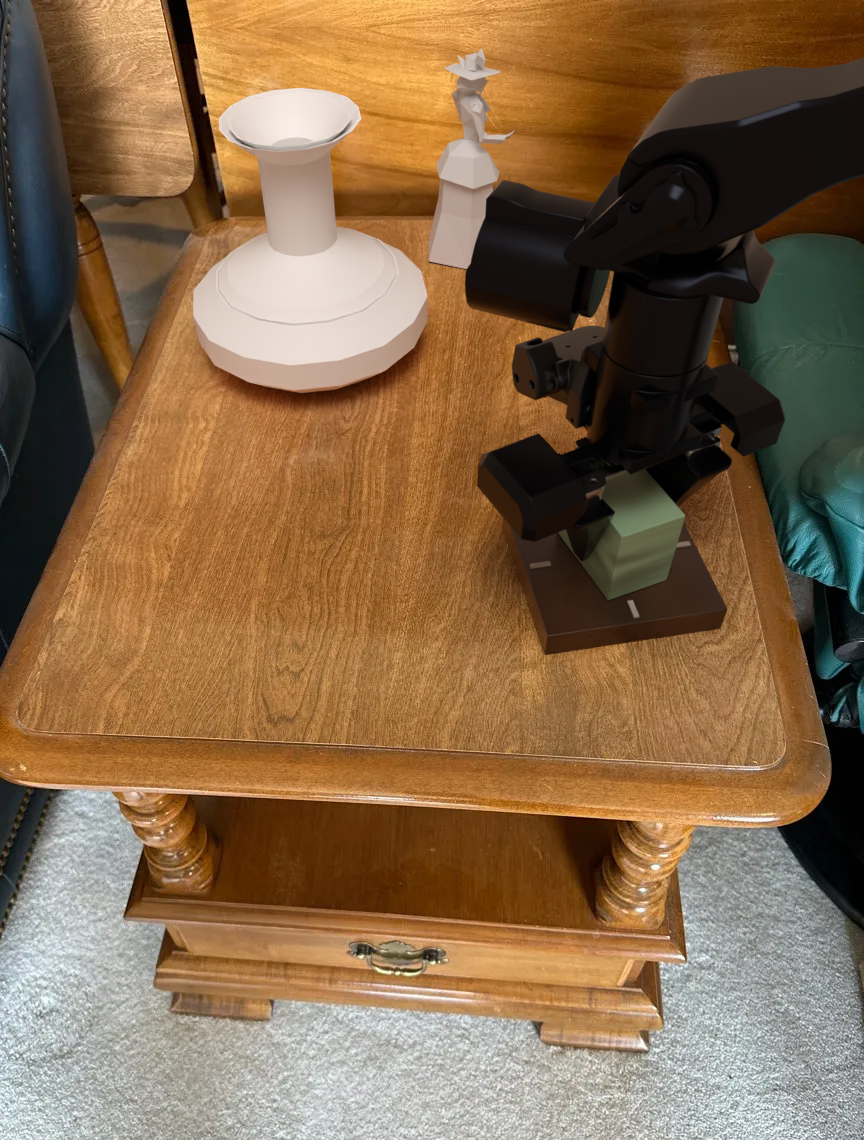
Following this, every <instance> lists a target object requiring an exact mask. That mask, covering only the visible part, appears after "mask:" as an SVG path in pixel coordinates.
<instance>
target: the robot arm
mask: <svg viewBox="0 0 864 1140" xmlns="http://www.w3.org/2000/svg"><path fill="white" fill-rule="evenodd" d="M862 177H864V57H862V58H859V59H856V60H853V61H849V62H847V63H841V64H834V65H828V66H821V67H813V68H812V67H796V66H795V67H793V66H778V65H777V66H775V65H773V66H772V65H771V66H764V67H758V68H753V69H752V68H751V69H745V70H740V71H734V72H727V73H723V74H722V73H721V74H716V75H710V76H706V77H700V78H697V79H694V80H693V81H691V82H689V83H687V84H685V85H683V86H682V87H680V88H678V89H677V90H676V91H675V92H674V93H673V94H671V95H670V96H669V97H668V99H667V100H666V102H665V103H664V104H663V105H662V106H661V108H660V109H659V111H658V112H657V113H656V115H655V116H654V118H653V119H652V120H651V122H650V123H649V125H648V126H647V127H646V129H645V130H644V132H643V133H642V135H640V138H639V139H638V140H637V142H636V143H635V144H634V146H633V147H632V149H631V150H630V152H629V153H628V155H627V157H626V159H625V161H624V163H623V164H622V167H621V168H620V171H619V174H614V176H613V177H612V178H611V180H610V181H609V182H608V184H607V185H606V187H605V188H604V190H603V191H602V192H601V193H600V195H599V196H598V197H597V200H595V202H594V201H589V200H583V199H579V198H575V197H570V196H564V195H561V194H555V193H550V192H545V191H541V190H537V189H534V188H532V187H530V186H528V185H527V184H523V183H520V182H516V181H510V180H505V179H503V180H502V181H501V180H500V182H499V183H498V184H497V185H496V187H495V188H493V191H492V193H491V194H490V195H489V196H488V197H487V199H486V212H485V219H484V221H483V223H482V225H481V228H480V230H479V233H478V236H477V239H476V242H475V246H474V250H473V254H472V258H471V264H470V265H469V266H468V268H467V269H465V277H464V294H465V300H466V303H467V305H468V307H469V308H471V309H472V310H475V311H478V312H482V313H483V312H484V313H487V314H492V315H494V316H499V317H504V318H507V319H511V320H515V321H519V322H522V323H527V324H531V325H535V326H539V327H542V328H547V329H551V330H553V331H558V332H563V333H560V334H558V335H554V336H552V337H549V338H546V339H543V338H541V337H538V336H537V337H535V338H532V339H529V340H525V341H522V342H520V343H517V344H515V346H514V351H513V358H512V363H511V374H512V382H513V383H512V384H513V387H514V388H515V390H516V392H518V393H519V394H520V395H523V396H524V397H527V398H529V399H531V400H533V401H538V400H540V399H543V398H551V399H553V400H555V401H557V402H558V403H559V402H560V403H562V404H564V405H566V411H565V420H567V422H569V423H570V425H571V426H573V427H574V429H576V430H578V429H580V428H583V429H585V431H586V436H585V437H582V438H580V439H577V440H575V441H574V445H573V446H574V449H571V450H569V451H567V452H565V453H562V454H561V452H557V450H555V449H554V448H553V447H552V445H551V444H550V443H549V442H548V441H547V440H546V439H545V438H544V437H543V436H542V434H540V433H536V434H533V435H529V436H527V437H524V438H522V439H519V440H517V441H513V442H511V443H508V444H506V445H503V446H500V447H497V448H495V449H492V450H490V451H487V452H484V453H481V455H480V458H479V462H478V465H477V478H476V487H477V488H478V489H479V491H480V492H481V493H482V494H483V495H484V496H485V498H486V499H487V500H488V501H489V502H490V504H491V505H492V506H493V507H494V509H495V510H496V511H497V512H498V514H499V515H500V516H501V518H502V519H503V518H504V519H505V520H506V522H507V523H508V524H509V525H510V526H511V528H512V529H513V530H514V531H515V533H516V534H517V535H518V536H519V537H520V539H522V540H527V541H532V542H536V541H538V540H541V539H543V538H546V537H548V536H550V535H553V534H555V533H558V532H560V531H563V530H565V529H566V531H567V534H568V537H569V541H570V544H571V547H572V550H573V552H574V553H575V555H576V556H577V557H578V558H579V559H580V560H581V561H584V560H587V558H588V557H589V556H590V555H591V553H592V552H593V551H594V549H595V547H596V545H597V544H598V542H599V540H600V538H601V537H602V535H603V533H604V531H605V530H606V528H607V527H608V525H609V523H610V521H611V520H612V518H613V516H614V514H615V511H614V510H613V509H612V508H611V507H610V506H609V505H608V504H607V503H606V502H605V501H604V500H603V499H602V494H603V490H604V489H605V486H606V480H609V479H611V478H614V477H616V476H619V475H621V474H624V473H626V472H628V473H629V474H630V475H631V474H634V473H636V472H639V471H641V470H644V469H646V471H647V472H648V473H649V474H650V475H651V476H652V477H653V479H654V480H655V481H656V482H657V483H658V484H659V486H660V487H661V488H662V489H663V490H664V491H665V492H666V494H667V495H668V496H669V497H670V498H671V499H672V500H673V502H674V503H675V504H676V505H677V506H678V507H679V508H680V506H682V505H683V504H684V503H686V501H688V500H689V499H690V498H691V497H693V496H694V495H695V494H696V493H697V492H699V491H700V490H701V489H702V488H703V487H705V486H706V485H708V483H710V482H711V481H712V480H714V479H715V478H716V477H717V476H719V475H720V474H721V473H724V472H726V471H728V470H729V469H730V468H731V466H732V465H733V460H732V457H731V456H730V455H729V454H728V453H726V452H725V451H724V450H723V449H722V448H721V447H720V443H721V440H722V439H721V438H720V437H718V436H720V433H721V431H722V425H724V426H725V427H726V428H727V429H728V430H729V431H731V432H732V433H733V436H732V440H731V443H730V447H731V448H732V449H733V450H734V451H735V452H736V453H738V454H739V455H740V456H741V457H743V458H744V457H747V456H749V455H752V454H754V453H756V452H759V451H761V450H764V449H766V448H769V447H771V446H773V445H776V444H777V443H778V441H779V437H780V435H781V432H782V431H783V426H784V425H785V422H786V414H785V409H784V406H783V403H782V401H781V400H780V398H778V397H777V396H776V395H774V394H773V393H772V392H771V391H770V390H769V389H767V387H765V386H763V384H762V383H760V382H759V381H758V380H756V378H754V377H753V376H751V375H750V374H749V373H748V372H746V370H744V369H743V368H742V367H740V366H739V365H737V363H735V362H734V361H733V360H731V361H728V362H726V363H722V364H720V365H716V366H714V367H711V366H709V365H708V364H707V361H708V357H709V353H710V349H711V346H712V342H713V338H714V336H715V335H714V334H715V331H716V327H717V325H718V324H717V323H718V321H719V316H720V314H721V310H722V306H723V302H724V299H727V300H732V301H736V302H740V303H744V304H749V305H754V304H756V303H758V302H759V300H760V299H761V297H762V294H763V293H764V290H765V288H766V286H767V284H768V282H769V280H770V277H771V275H772V273H773V271H774V268H775V267H776V259H775V258H774V256H773V255H771V253H770V252H769V251H768V250H767V248H766V247H765V246H764V245H762V244H761V243H760V242H759V241H758V239H757V237H756V234H755V233H756V232H755V230H757V229H759V228H761V227H764V226H765V225H767V224H768V223H770V222H772V221H773V220H775V219H777V218H779V217H781V215H784V214H785V213H787V212H788V211H790V210H791V209H793V208H795V207H796V206H798V205H799V204H802V203H803V202H804V201H806V200H807V199H809V198H811V197H812V196H814V195H816V194H818V193H821V192H824V191H826V190H827V189H830V188H832V187H834V186H837V185H840V184H842V183H844V182H848V181H851V180H854V179H859V178H862ZM611 272H613V273H612V280H611V285H610V291H609V298H608V302H607V303H608V304H607V309H606V315H605V321H604V326H601V325H585V326H580V327H578V328H575V325H576V322H577V320H578V318H579V316H581V317H584V318H588V319H592V318H593V317H594V316H595V314H596V313H597V311H598V309H599V307H600V305H601V302H602V300H603V298H604V295H605V291H606V289H607V287H608V286H607V285H608V281H609V279H610V273H611Z"/></svg>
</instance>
